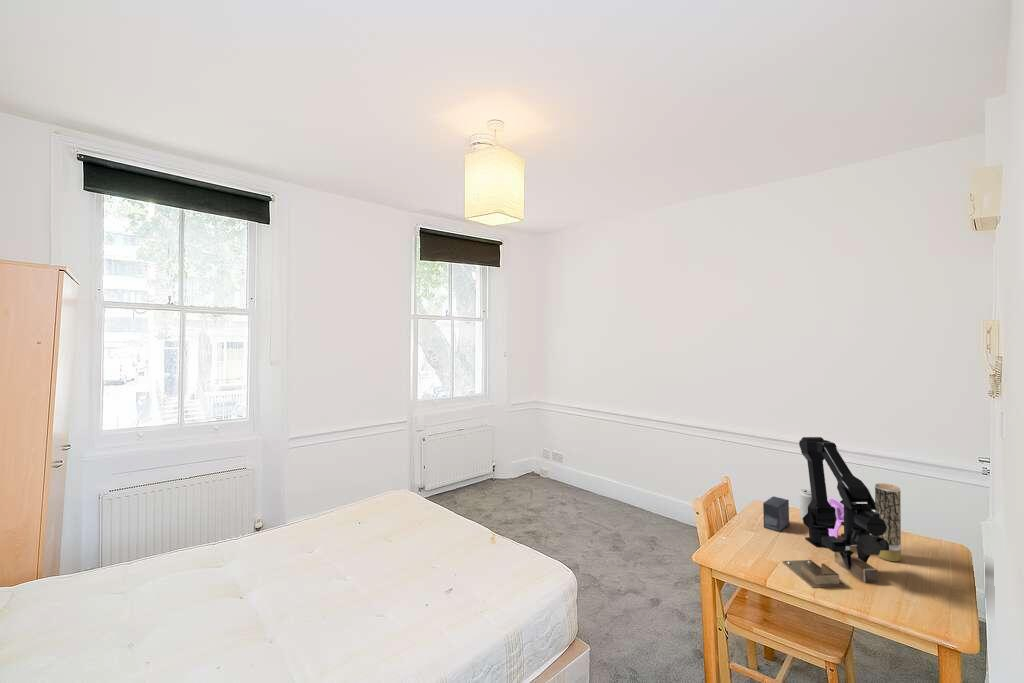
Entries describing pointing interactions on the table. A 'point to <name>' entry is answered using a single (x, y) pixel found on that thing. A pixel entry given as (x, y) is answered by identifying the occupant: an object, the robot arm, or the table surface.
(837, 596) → the table surface
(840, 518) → the toy chair
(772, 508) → the small box
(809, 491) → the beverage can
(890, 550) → the log-patterned cylinder
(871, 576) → the walnut rail
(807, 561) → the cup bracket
